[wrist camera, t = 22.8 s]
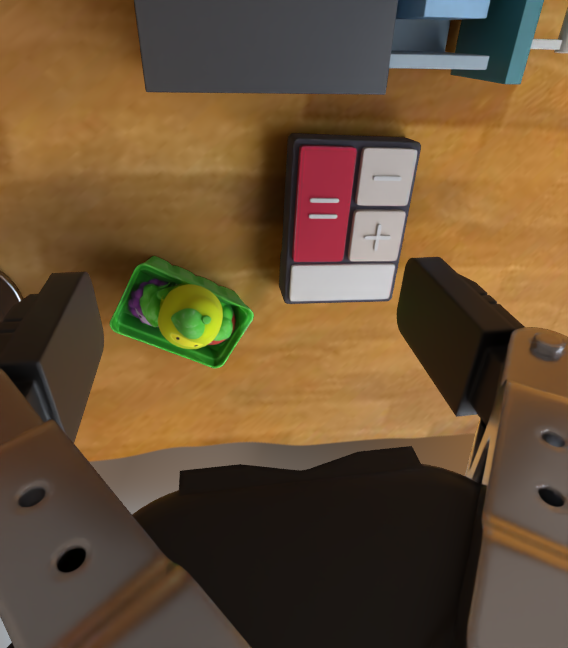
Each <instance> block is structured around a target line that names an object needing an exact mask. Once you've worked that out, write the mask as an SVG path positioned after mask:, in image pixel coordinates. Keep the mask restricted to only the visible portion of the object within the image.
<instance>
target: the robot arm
mask: <svg viewBox="0 0 568 648" xmlns="http://www.w3.org/2000/svg"><path fill="white" fill-rule="evenodd" d="M397 324H398V328H399V330H400V332H401V334H402V336H403V337H404V339H405V340H406V342H407V343H408V345H409V346H410V348H411V349H412V351H413V352H414V354H415V355H416V357H417V358H418V360H419V361H420V363H421V364H422V366H423V367H424V369H425V370H426V372H427V373H428V375H429V376H430V378H431V379H432V381H433V382H434V384H435V385H436V387H437V388H438V390H439V391H440V393H441V394H442V396H443V397H444V399H445V400H446V402H447V403H448V405H449V406H450V408H451V409H452V411H453V412H454V414H455V415H456V416H466V415H476V414H478V415H479V417H480V421H479V423H478V426H477V429H476V432H475V437H474V441H473V445H472V449H471V454H470V458H469V462H468V467H467V471H466V475H465V476H463V475H461V474H458V473H455V472H453V471H450V470H447V469H444V468H440V467H436V466H431V465H425V464H421V463H420V461H419V460H418V457H417V455H416V453H415V451H414V450H413V448H412V446H409V447H399V448H389V449H380V450H371V451H361V452H356V453H353V454H351V455H348V456H345V457H342V458H339V459H336V460H333V461H331V462H328V463H325V464H322V465H319V466H317V467H313V468H311V469H307V470H302V471H299V470H298V471H297V470H288V469H278V468H269V467H260V466H250V465H241V464H240V465H231V466H221V467H212V468H203V469H193V470H184V471H180V480H179V490H178V491H175V492H173V493H170V494H167V495H165V496H163V497H161V498H159V499H157V500H154V501H153V502H151V503H149V504H148V505H146V506H144V507H142V508H141V509H139V510H138V511H137V512H135V513H134V514H133V515H132V514H130V512H129V511H128V510H127V508H126V507H125V506H124V505H123V503H122V502H121V501H120V500H119V499H118V497H117V496H116V495H115V494H114V492H113V491H112V490H111V489H110V487H109V486H108V485H107V484H106V483H105V481H104V480H103V479H102V478H101V476H100V475H99V474H98V473H97V472H96V470H95V469H94V468H93V467H92V465H91V464H90V463H89V462H88V460H87V459H86V458H85V457H84V456H83V454H82V453H81V452H80V451H79V449H78V448H77V447H76V446H75V445H74V441H75V438H76V435H77V432H78V429H79V425H80V422H81V419H82V416H83V413H84V410H85V406H86V403H87V400H88V397H89V394H90V391H91V387H92V384H93V381H94V378H95V375H96V372H97V368H98V365H99V362H100V359H101V356H102V352H103V347H104V334H103V327H102V323H101V319H100V314H99V310H98V306H97V302H96V298H95V293H94V289H93V285H92V281H91V278H90V276H89V274H88V273H87V272H66V273H52V274H51V275H50V277H49V278H48V280H47V281H46V283H45V285H44V286H43V288H42V289H41V291H40V293H39V294H31V295H29V296H27V297H26V298H24V299H23V297H22V295H21V293H20V291H19V289H18V288H17V286H16V285H15V284H14V283H13V282H12V281H11V280H10V278H8V277H7V276H6V275H5V274H4V273H2V272H1V271H0V617H1V619H2V621H3V623H4V626H5V628H6V630H7V632H8V635H9V636H10V639H11V641H12V643H11V644H10V645H9V646H8V647H7V648H568V337H567V336H565V335H562V334H560V333H557V332H555V331H551V330H548V329H543V328H536V327H524V326H523V325H522V324H521V323H520V322H519V321H518V320H516V319H515V318H514V317H513V316H512V315H511V314H510V313H509V312H508V311H506V310H505V309H504V308H503V307H502V306H501V305H500V304H497V301H495V300H494V299H493V298H492V297H491V296H490V295H487V292H486V291H484V290H483V289H482V288H481V287H480V286H479V285H478V284H477V283H475V282H474V281H472V280H470V279H468V278H466V277H464V276H462V275H460V274H458V273H456V272H455V271H454V270H453V269H452V268H451V267H450V266H449V265H448V264H447V263H446V262H445V261H444V260H443V259H441V258H440V257H424V258H410V259H409V260H408V262H407V264H406V266H405V271H404V276H403V281H402V287H401V292H400V297H399V302H398V307H397Z"/></svg>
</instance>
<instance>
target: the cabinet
mask: <svg viewBox="0 0 568 648" xmlns="http://www.w3.org/2000/svg"><path fill="white" fill-rule="evenodd" d="M134 5H135V12H136V20H137V27H138V35H139V43H140V50H141V58H142V66H143V73H144V81H145V89H146V92H186V93H289V94H385V93H386V87H387V79H388V72H389V65H390V57H391V50H392V42H393V35H394V27H395V20H396V12H397V5H398V0H134Z"/></svg>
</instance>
